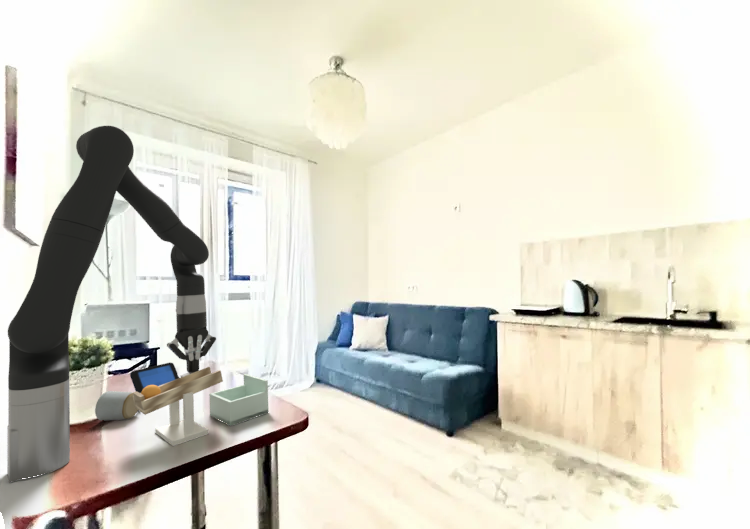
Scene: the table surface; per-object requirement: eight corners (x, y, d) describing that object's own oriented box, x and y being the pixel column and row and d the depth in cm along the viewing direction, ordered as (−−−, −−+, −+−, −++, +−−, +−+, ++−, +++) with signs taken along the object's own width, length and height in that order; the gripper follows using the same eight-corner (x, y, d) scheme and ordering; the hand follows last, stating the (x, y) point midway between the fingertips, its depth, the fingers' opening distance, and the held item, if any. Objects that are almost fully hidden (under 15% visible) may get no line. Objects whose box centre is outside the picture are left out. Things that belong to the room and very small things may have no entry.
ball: (148, 408, 81) (140, 393, 80) (143, 404, 84) (135, 390, 83) (166, 396, 84) (158, 382, 83) (160, 393, 87) (153, 379, 86)
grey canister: (124, 423, 96) (124, 394, 96) (94, 424, 95) (94, 395, 96) (149, 410, 106) (149, 383, 107) (122, 411, 106) (122, 384, 107)
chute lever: (145, 414, 79) (141, 397, 79) (124, 400, 90) (121, 385, 89) (222, 381, 92) (219, 366, 92) (197, 372, 103) (194, 359, 103)
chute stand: (172, 446, 81) (172, 399, 81) (155, 432, 89) (154, 390, 89) (208, 433, 87) (207, 390, 87) (189, 422, 95) (188, 382, 95)
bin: (230, 426, 91) (229, 390, 91) (209, 415, 99) (209, 382, 99) (268, 412, 99) (267, 380, 99) (246, 404, 107) (246, 374, 107)
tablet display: (155, 404, 111) (154, 374, 111) (128, 400, 116) (128, 371, 117) (198, 389, 125) (198, 363, 125) (172, 386, 130) (172, 361, 131)
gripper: (170, 314, 93) (172, 381, 92) (220, 309, 102) (222, 369, 102) (160, 313, 98) (162, 377, 97) (209, 308, 107) (211, 366, 107)
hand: (193, 373), depth 99 cm, fingers closed
